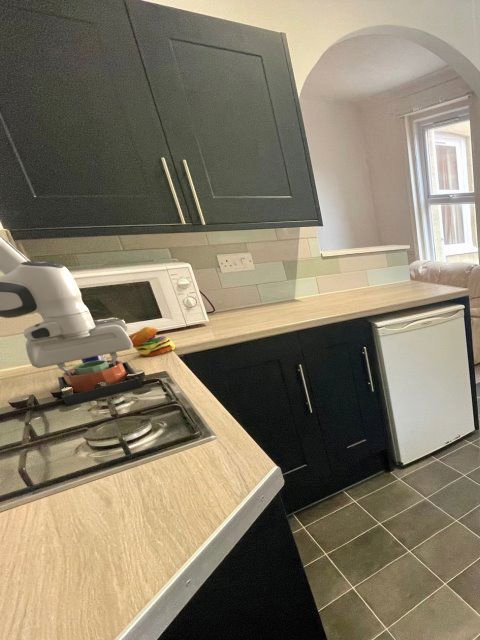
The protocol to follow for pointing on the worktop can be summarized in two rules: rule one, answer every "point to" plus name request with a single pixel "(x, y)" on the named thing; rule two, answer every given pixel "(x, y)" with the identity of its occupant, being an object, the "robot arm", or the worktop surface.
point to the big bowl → (96, 378)
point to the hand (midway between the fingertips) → (94, 372)
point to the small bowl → (91, 367)
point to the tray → (100, 389)
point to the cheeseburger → (150, 342)
